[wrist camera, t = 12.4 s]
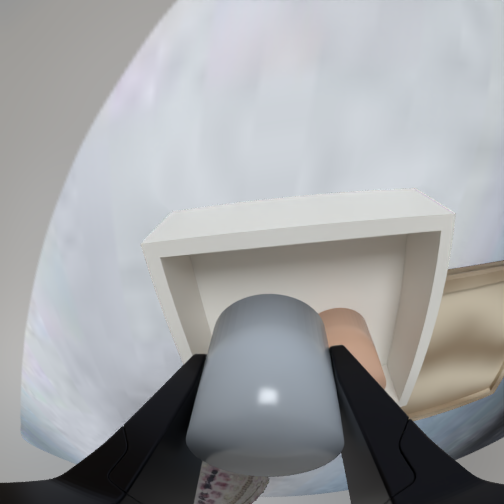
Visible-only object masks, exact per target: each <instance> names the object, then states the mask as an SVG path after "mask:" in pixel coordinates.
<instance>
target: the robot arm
mask: <svg viewBox="0 0 504 504" xmlns="http://www.w3.org/2000/svg"><path fill="white" fill-rule="evenodd" d="M329 351H330V356H331V362H332V367H333V373H334V379H335V384H336V390H337V396H338V402H339V409H340V415H341V422H342V429H343V436H344V447H343V450H342V451H341V454H342V459H343V464H344V469H345V474H346V479H347V484H348V489H349V494H350V500H351V504H504V484H499V483H493V482H489V481H485V480H482V479H480V478H478V477H476V476H474V475H473V474H471V473H470V472H469V471H467V470H466V469H465V468H464V467H462V466H461V465H460V464H459V463H458V462H456V461H455V460H454V459H453V458H452V457H450V456H449V455H448V454H447V453H445V452H444V451H443V450H442V449H441V448H440V447H438V446H437V445H436V444H435V443H434V442H433V441H432V440H431V439H429V438H428V437H427V436H426V434H425V433H424V432H423V431H422V430H421V429H420V428H419V427H418V426H417V425H416V424H415V423H414V422H413V421H412V419H409V416H408V415H407V414H406V413H405V412H404V411H403V410H402V409H401V407H400V406H399V405H398V404H397V403H396V402H395V401H394V400H393V399H392V398H391V396H390V395H389V394H388V393H387V392H386V391H385V390H384V389H383V388H382V387H381V385H380V384H379V383H378V382H377V381H376V380H375V379H374V378H373V377H372V376H371V374H370V373H369V372H368V371H367V370H366V369H365V368H364V367H363V366H362V365H361V363H360V362H359V361H358V360H357V359H356V358H355V357H354V356H353V355H352V354H351V353H350V351H349V350H348V349H347V348H346V347H345V346H344V345H334V346H330V348H329ZM206 356H207V354H194V355H193V356H192V357H191V358H190V359H189V360H188V361H187V362H186V363H185V364H184V365H183V366H182V367H181V368H180V369H179V370H178V371H177V372H176V373H175V374H174V375H173V376H172V377H171V378H170V379H169V380H168V381H167V382H166V383H165V384H164V385H163V386H162V387H161V388H160V389H159V390H158V391H157V392H156V393H155V394H154V395H153V396H152V397H151V398H150V399H149V400H148V401H147V402H146V403H145V404H144V405H143V406H142V407H141V408H140V409H139V410H138V411H137V412H136V413H135V414H134V415H133V416H132V417H131V418H130V419H129V420H128V421H127V422H126V423H125V424H124V426H122V427H121V428H120V429H119V430H118V431H117V432H116V433H115V434H114V435H113V436H112V437H110V438H109V439H108V440H107V441H106V442H105V443H104V444H103V445H101V446H100V447H99V448H98V449H96V450H95V451H94V452H93V453H91V454H90V455H89V456H87V457H86V458H85V459H83V460H82V461H81V462H79V463H78V464H77V465H76V466H74V467H73V468H71V469H70V470H69V471H67V472H66V473H64V474H62V475H61V476H58V477H56V478H53V479H49V480H40V481H29V482H13V483H0V504H194V500H195V495H196V490H197V485H198V481H199V476H200V471H201V466H202V460H201V459H199V458H198V457H196V456H195V455H194V454H193V453H192V452H191V451H190V450H189V448H188V446H187V444H186V435H187V431H188V427H189V423H190V419H191V415H192V411H193V407H194V403H195V399H196V395H197V391H198V387H199V383H200V380H201V376H202V372H203V368H204V364H205V360H206ZM408 419H409V420H408Z"/></svg>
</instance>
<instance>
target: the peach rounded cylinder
mask: <svg viewBox="0 0 504 504" xmlns="http://www.w3.org/2000/svg"><path fill="white" fill-rule="evenodd" d="M318 314H319V316H320V317H321V319H322V321H323V323H324V326H325V329H326V334H327V340H328V345H329V348H330V346H334V345H344V346H345V347H346V348H347V349H348V350H349V351H350V353H351V354H352V355H353V356H354V357H355V358H356V359H357V360H358V361H359V362H360V363H361V365H362V366H363V367H364V368H365V369H366V370H367V371H368V372H369V373H370V374H371V376H372V377H373V378H374V379H375V380H376V381H377V382H378V383H379V384H380V385H381V387H382V388H383V389H384V390H385V388H386V378H385V375H384V372H383V369H382V366H381V363H380V360H379V357H378V354H377V351H376V348H375V345H374V343H373V340H372V337H371V334H370V332H369V329H368V326H367V324H366V321H365V319H364V318H363V316H362V315H361V314H360V313H358V312H356V311H354V310H352V309H348V308H333V309H328V310H325V311H323V312H320V313H318Z"/></svg>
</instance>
